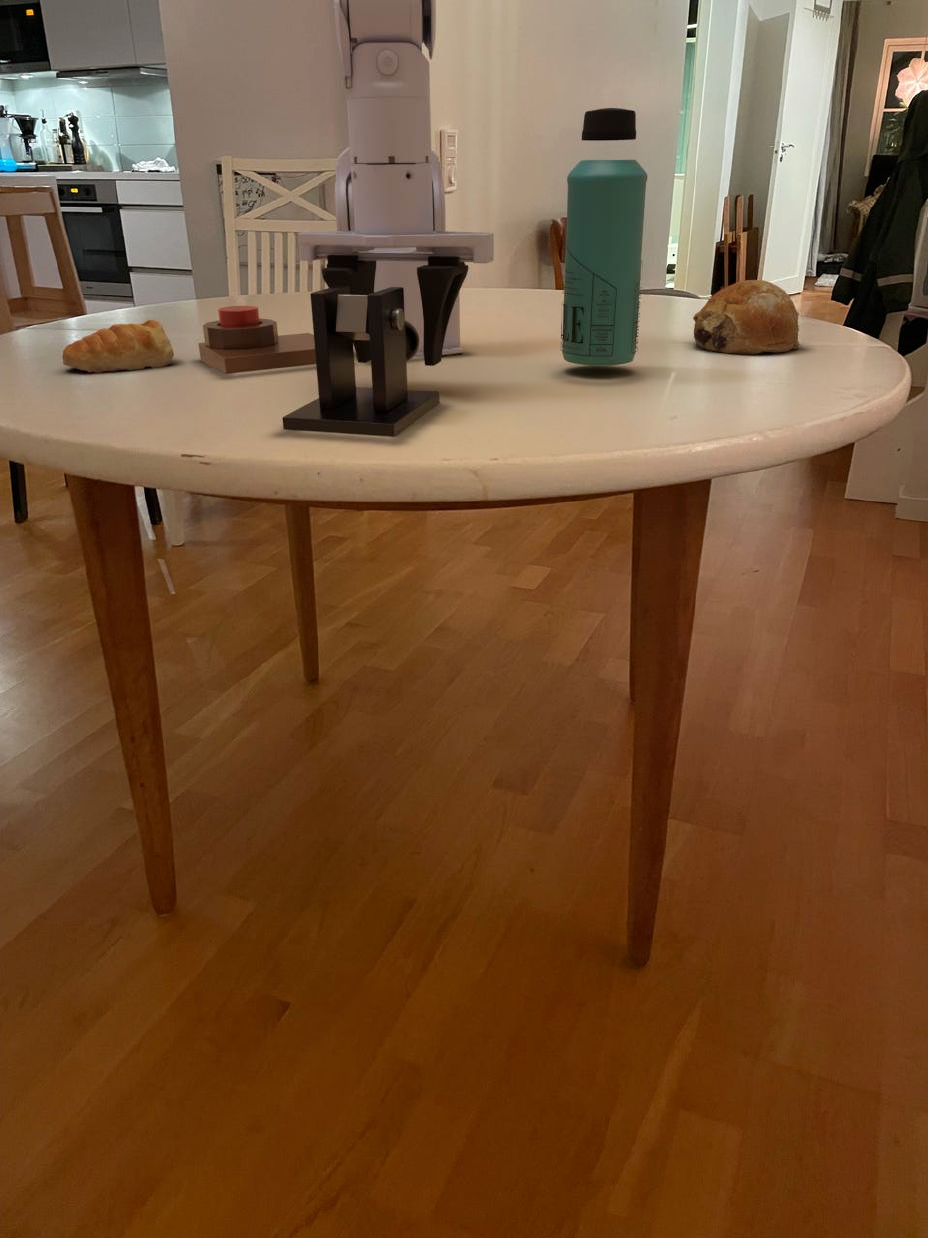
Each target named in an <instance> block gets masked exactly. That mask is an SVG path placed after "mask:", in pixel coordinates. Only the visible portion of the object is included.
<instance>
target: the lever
mask: <svg viewBox="0 0 928 1238" xmlns="http://www.w3.org/2000/svg"><path fill="white" fill-rule="evenodd" d="M336 332H338V333H340V334H342V335H344V336H346V337H348V338H350V339H352V340H370V336H369V318H368V300H367V295H338V302H337V317H336ZM405 337H406V363H407V362H409V361H411V360H412V359H413V358H414V356H415V354H416V353H417V351H418V349H419V344H420V340H419V335H418V332H417V330H416V329H415V327H414V326H413V325H412V324H411V323H409V322H407V321H405Z"/></svg>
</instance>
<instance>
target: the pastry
mask: <svg viewBox="0 0 928 1238" xmlns="http://www.w3.org/2000/svg"><path fill="white" fill-rule="evenodd" d="M174 355H175V353H174V349H173V346H172V343H171V341H170V339H169V336H167V334H166V332H165V330H164V326H163V324H161V323H160V322H159V321H158V320H155V319H148V320H146V321H144V322H143V323H126V324H125V323H116V324H112V325H111V326H109V327H108V328H106V327H105V328H100V329H98V330H97V331H96V332H93V333H91V334H89V335H86V336H83V337H82V338H81V339H79V340H75V341H73V342H72V343H70V344H67V345H66V346H65V348H64V349H63V351H62V356H61V357H62V365H63V366H66V367H70V368H74V369H77V370H80V371H85V372H88V373H89V374H90V373H103V372H117V371H120V370H127V371H135V370H143V369H144V368H146V367H151V368H152V369H153V368H154V369H155V368H161V367H165V366H169V365H172V361H173V358H174Z"/></svg>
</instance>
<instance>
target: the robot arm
mask: <svg viewBox="0 0 928 1238" xmlns="http://www.w3.org/2000/svg"><path fill="white" fill-rule="evenodd" d="M436 4H437V1H436V0H333V8H334V21H335V22H334V23H335V24H334V25H335V35H336V41H337V42H336V43H337V47H338V50H339V55H340V60H341V66H342V77H343V78H342V79H343V87H344V89H345V90H346V91H345V92H347V100H346V110H347V111H346V112H347V126H348V139H349V140H348V143H349V144H348V145H349V146H347V148H345V149H344V150H343V151H342V152H341V153H340V154H339V155H338V157H337V162H336V163H335V164H334V169H335V170H334V171H335V183H334V205H335V219H336V221H335V222H336V230H337V231H336V230H335V231H334V230H332V231H331V230H330V231H326V230H325V231H321V230H319V231H302V232H298V233H297V240H298V252H299V253H298V254H299V261H301V262H302V261H304V262H313V261H327V263H326V267H322V269H321V275H322V280H323V281H324V283H325V284H326V286H327V288H331V287H334V286H349V287H350V295H368V294H371V293H374V292H377V291H380V290H383V289H386V288H390V287H403V288H404V311H405V321H407V322H409V323H411V324H412V325H413V326H414V327H415V329H416V330H417V332H418V335H419V340H420V344H419V349H418V351H417V353H416V354H415V356H414V357H416V358H423V359H424V360H423V362H424V366H425V367H426V366H427V367H428V366H429V367H435V366H436V365H438V364H440V363H441V362H442V357H443V356H447V355H448V356H449V355H455V354H463V353H464V352H465V348H464V347H461V311H460V310H461V307H460V305H461V303H460V301H461V300H460V291H461V289H462V287H463V284H464V282H465V280H466V278H467V276H468V273H469V265H468V264H466V263H473V264H489V263H492V262H494V259H495V257H494V256H495V254H494V253H495V251H494V250H495V249H494V248H495V233H494V232H485V231H484V232H483V231H482V232H481V231H480V232H477V231H471V232H470V231H446V194H445V193H446V192H445V184H444V180H443V164H442V163H441V161H440V157H439V155H438V154H437V153H436V152H435V151H434V150H432V119H431V118H432V116H431V83H430V82H431V78H430V74H431V73H430V72H431V71H430V61H429V60H428V58H427V57H426V56H425V54H424V53H423V45H424V47H425V48H426V49H427V50H428V56H429V59H430V60H433V56H434V50H435V45H436V44H435V43H436V36H437V35H436V32H437V5H436ZM353 349H354V355H356V359H357V363H358V364H359V363H360V364H367V363H369V362H371V353H370V340H353ZM414 357H413V358H414Z"/></svg>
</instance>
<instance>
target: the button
mask: <svg viewBox="0 0 928 1238" xmlns="http://www.w3.org/2000/svg"><path fill="white" fill-rule="evenodd" d="M217 312H218V319H219V321H220V326H224V327H244V326H254V325H259V324H260V321H259V318H260V314H259V313H260V311H259V308H258V306H254V305H229V306H223V307H219V308H218V309H217Z"/></svg>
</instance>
